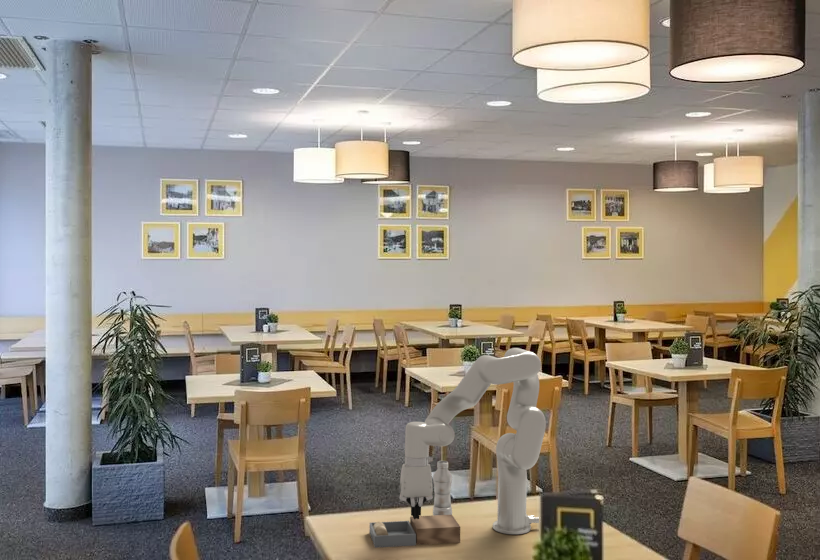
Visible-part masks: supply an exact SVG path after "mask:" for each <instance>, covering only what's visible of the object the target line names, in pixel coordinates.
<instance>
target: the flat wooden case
mask: <svg viewBox="0 0 820 560" xmlns="http://www.w3.org/2000/svg"><path fill="white" fill-rule="evenodd" d="M409 522H410V524H411V526H412V528H413V530H414V531H415V533H416V546H417V545H420V546H421V545H434V544H435V545H437V544H458V543H461V526H460V524H459V523H458V521H457V519H455V517H454V516H453V514H452V515H434V516H433V515H421V516H419V519H417V518H416V519H414V518H413V516H410V517H409Z"/></svg>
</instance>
